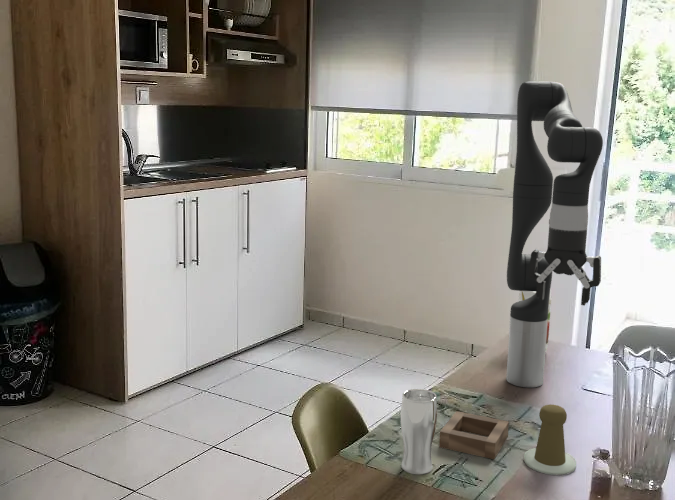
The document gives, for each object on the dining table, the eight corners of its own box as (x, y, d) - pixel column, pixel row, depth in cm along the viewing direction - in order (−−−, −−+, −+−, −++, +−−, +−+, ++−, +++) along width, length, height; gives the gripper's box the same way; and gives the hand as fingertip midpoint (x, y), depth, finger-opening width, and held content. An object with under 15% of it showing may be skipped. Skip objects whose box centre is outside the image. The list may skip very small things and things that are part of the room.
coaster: (529, 447, 155) (529, 443, 154) (579, 457, 150) (579, 454, 150) (518, 467, 146) (519, 464, 146) (571, 479, 141) (571, 475, 141)
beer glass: (425, 479, 141) (428, 405, 138) (392, 469, 144) (395, 397, 141) (440, 464, 147) (443, 393, 144) (408, 455, 150) (411, 385, 147)
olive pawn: (566, 467, 144) (570, 414, 142) (534, 464, 146) (538, 411, 144) (564, 453, 150) (568, 402, 148) (533, 450, 151) (537, 399, 149)
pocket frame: (455, 425, 164) (456, 411, 163) (507, 436, 159) (508, 421, 159) (439, 447, 154) (439, 431, 153) (494, 459, 149) (495, 443, 148)
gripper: (607, 226, 152) (600, 302, 155) (536, 220, 158) (531, 293, 162) (602, 232, 145) (595, 311, 149) (529, 225, 152) (524, 301, 155)
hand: (562, 301), depth 155 cm, fingers open, 8 cm apart
